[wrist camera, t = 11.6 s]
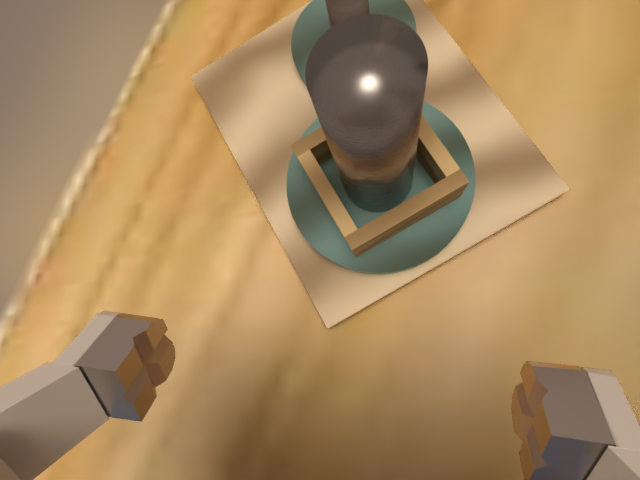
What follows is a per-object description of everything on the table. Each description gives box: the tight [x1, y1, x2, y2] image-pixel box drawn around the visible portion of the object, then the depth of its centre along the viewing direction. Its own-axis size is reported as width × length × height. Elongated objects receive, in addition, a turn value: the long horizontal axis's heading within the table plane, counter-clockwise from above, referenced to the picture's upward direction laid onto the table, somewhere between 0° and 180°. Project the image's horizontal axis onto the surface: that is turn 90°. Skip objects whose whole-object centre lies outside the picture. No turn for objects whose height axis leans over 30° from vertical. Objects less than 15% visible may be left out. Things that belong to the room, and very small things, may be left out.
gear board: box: [191, 0, 570, 329], centre depth 24 cm, size 20×16×7 cm
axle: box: [305, 14, 428, 212], centre depth 19 cm, size 4×4×11 cm
